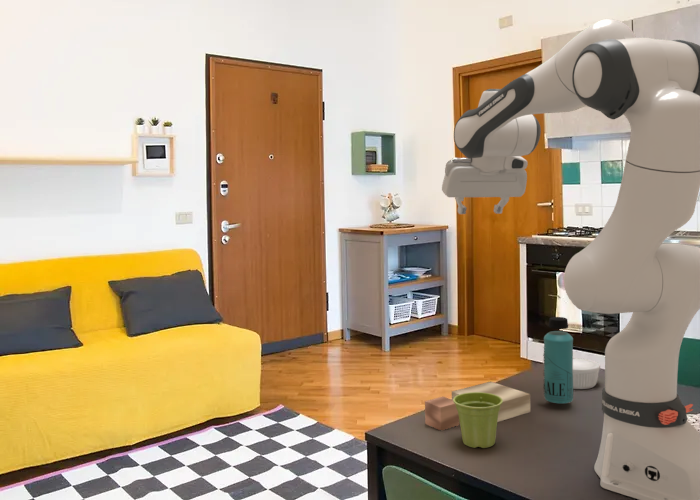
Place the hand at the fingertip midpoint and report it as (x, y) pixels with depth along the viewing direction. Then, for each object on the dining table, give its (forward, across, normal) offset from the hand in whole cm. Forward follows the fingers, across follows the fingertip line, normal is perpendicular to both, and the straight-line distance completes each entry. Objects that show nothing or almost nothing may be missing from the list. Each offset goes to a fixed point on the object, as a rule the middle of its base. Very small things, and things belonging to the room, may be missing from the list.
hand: (479, 213), depth 157 cm
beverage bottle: (+34, +11, -32) cm, 48 cm away
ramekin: (+38, +23, -20) cm, 49 cm away
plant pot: (+30, -15, -46) cm, 56 cm away
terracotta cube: (+34, -18, -35) cm, 52 cm away
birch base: (+35, -4, -31) cm, 46 cm away
